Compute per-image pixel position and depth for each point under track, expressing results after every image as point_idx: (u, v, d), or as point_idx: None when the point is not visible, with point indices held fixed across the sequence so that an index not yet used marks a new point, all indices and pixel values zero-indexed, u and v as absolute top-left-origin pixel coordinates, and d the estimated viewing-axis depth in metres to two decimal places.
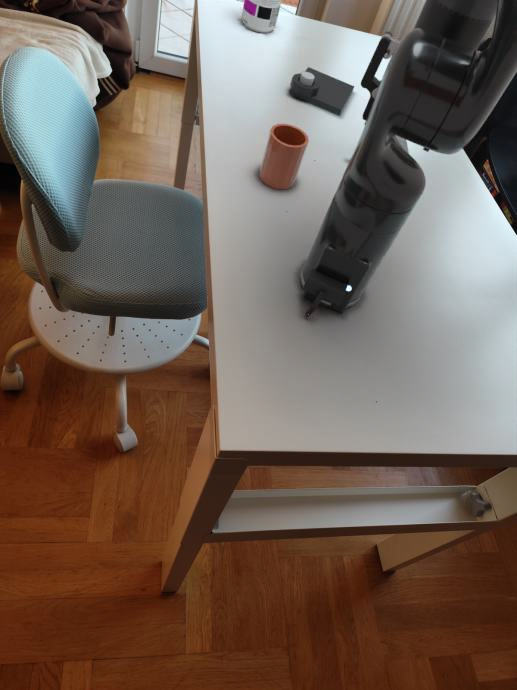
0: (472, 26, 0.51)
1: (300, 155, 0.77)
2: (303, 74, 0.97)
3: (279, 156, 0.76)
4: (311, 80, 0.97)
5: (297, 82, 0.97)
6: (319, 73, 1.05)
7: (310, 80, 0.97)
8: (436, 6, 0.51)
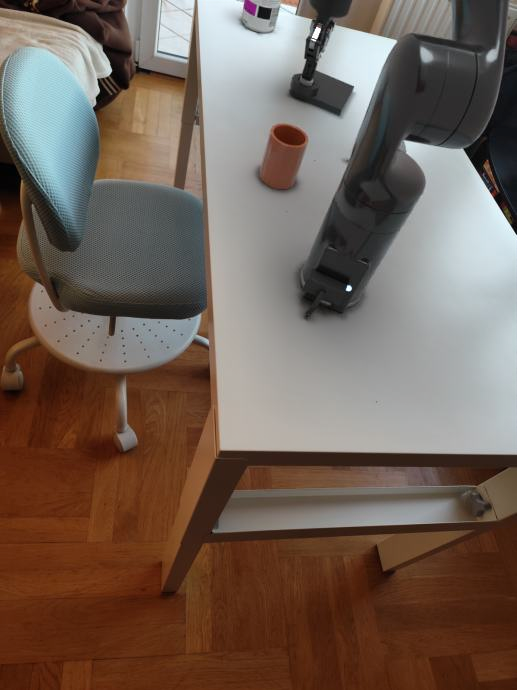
0: None
1: (300, 155, 0.77)
2: None
3: (279, 156, 0.76)
4: (310, 83, 0.98)
5: (297, 82, 0.97)
6: (319, 73, 1.05)
7: (309, 83, 0.98)
8: None
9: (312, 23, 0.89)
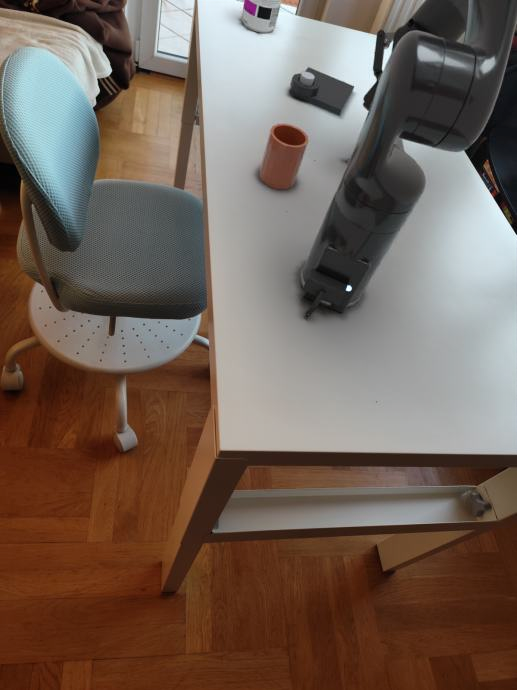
0: None
1: (300, 155, 0.77)
2: (303, 74, 0.97)
3: (279, 156, 0.76)
4: (311, 80, 0.97)
5: (297, 82, 0.97)
6: (319, 73, 1.05)
7: (310, 80, 0.97)
8: None
9: None
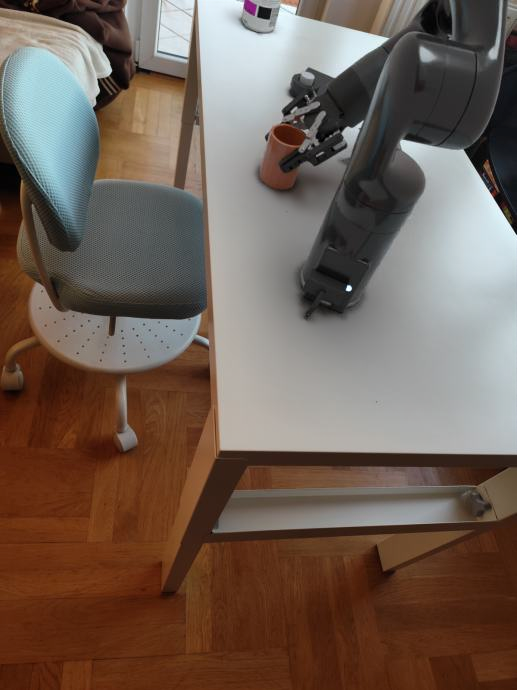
0: None
1: None
2: (303, 74, 0.97)
3: (279, 156, 0.76)
4: (311, 80, 0.97)
5: (297, 82, 0.97)
6: (319, 73, 1.05)
7: (310, 80, 0.97)
8: None
9: None
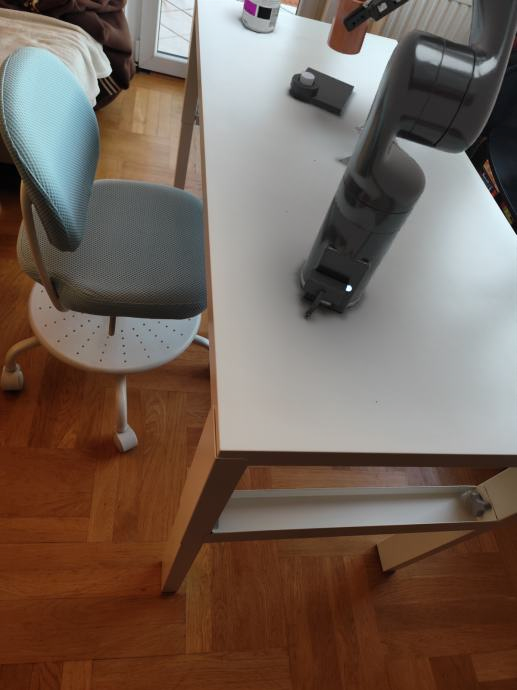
0: None
1: None
2: (303, 74, 0.97)
3: (345, 13, 0.81)
4: (311, 80, 0.97)
5: (297, 82, 0.97)
6: (319, 73, 1.05)
7: (310, 80, 0.97)
8: None
9: None
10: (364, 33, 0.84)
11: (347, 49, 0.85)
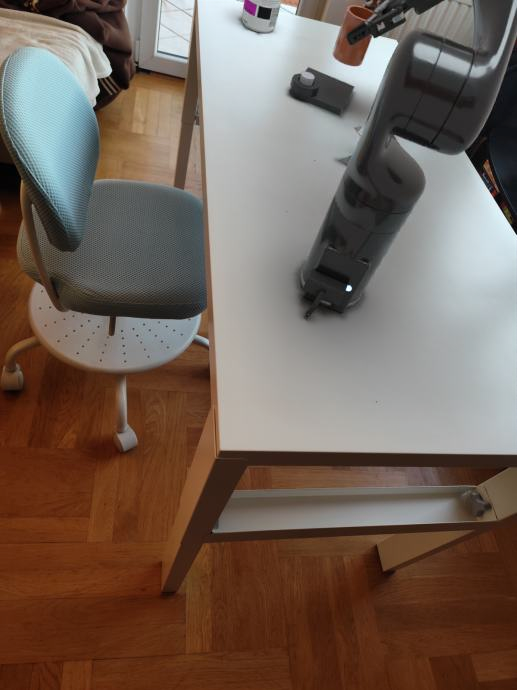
0: None
1: None
2: (303, 74, 0.97)
3: (348, 28, 0.89)
4: (311, 80, 0.97)
5: (297, 82, 0.97)
6: (319, 73, 1.05)
7: (310, 80, 0.97)
8: (438, 1, 0.85)
9: None
10: (365, 48, 0.92)
11: (349, 60, 0.93)
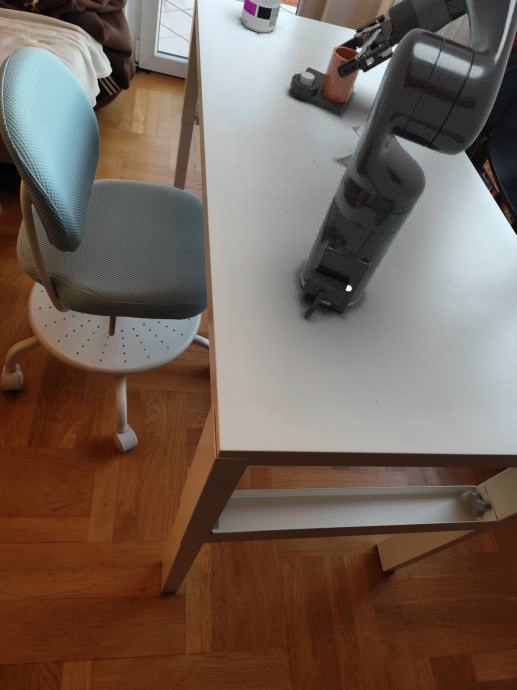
0: None
1: None
2: (303, 74, 0.97)
3: (335, 68, 0.95)
4: (311, 80, 0.97)
5: (297, 82, 0.97)
6: (319, 73, 1.05)
7: (310, 80, 0.97)
8: None
9: None
10: (351, 86, 0.98)
11: (335, 97, 0.99)
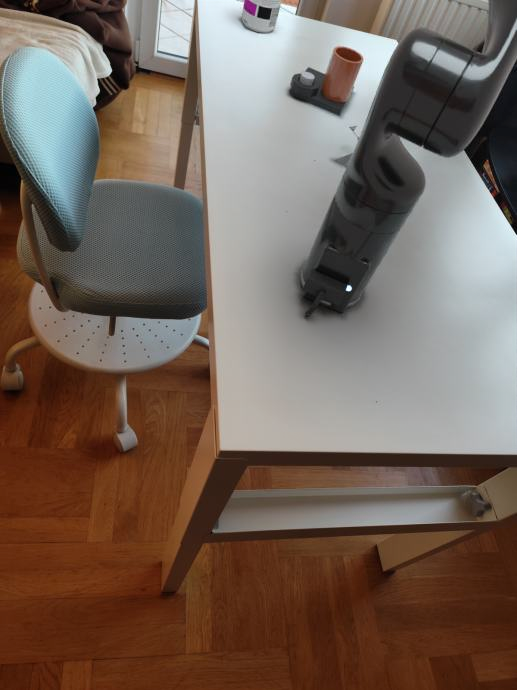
0: None
1: (352, 71, 0.95)
2: (303, 74, 0.97)
3: (335, 68, 0.95)
4: (311, 80, 0.97)
5: (297, 82, 0.97)
6: (319, 73, 1.05)
7: (310, 80, 0.97)
8: None
9: None
10: (351, 86, 0.98)
11: (335, 97, 0.99)
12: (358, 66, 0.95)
